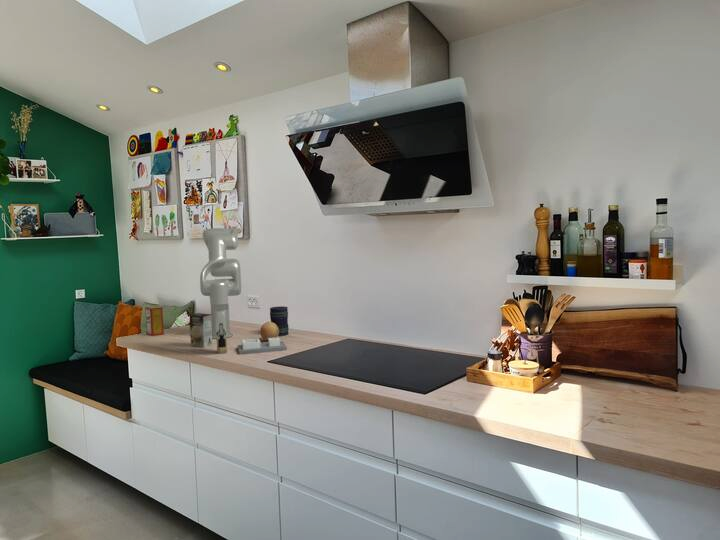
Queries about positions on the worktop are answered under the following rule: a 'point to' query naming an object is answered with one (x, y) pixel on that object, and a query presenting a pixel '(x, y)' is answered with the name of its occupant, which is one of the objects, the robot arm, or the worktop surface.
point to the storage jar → (280, 319)
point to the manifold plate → (261, 346)
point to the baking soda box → (154, 320)
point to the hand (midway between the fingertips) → (221, 345)
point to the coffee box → (200, 330)
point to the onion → (269, 330)
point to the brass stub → (222, 349)
